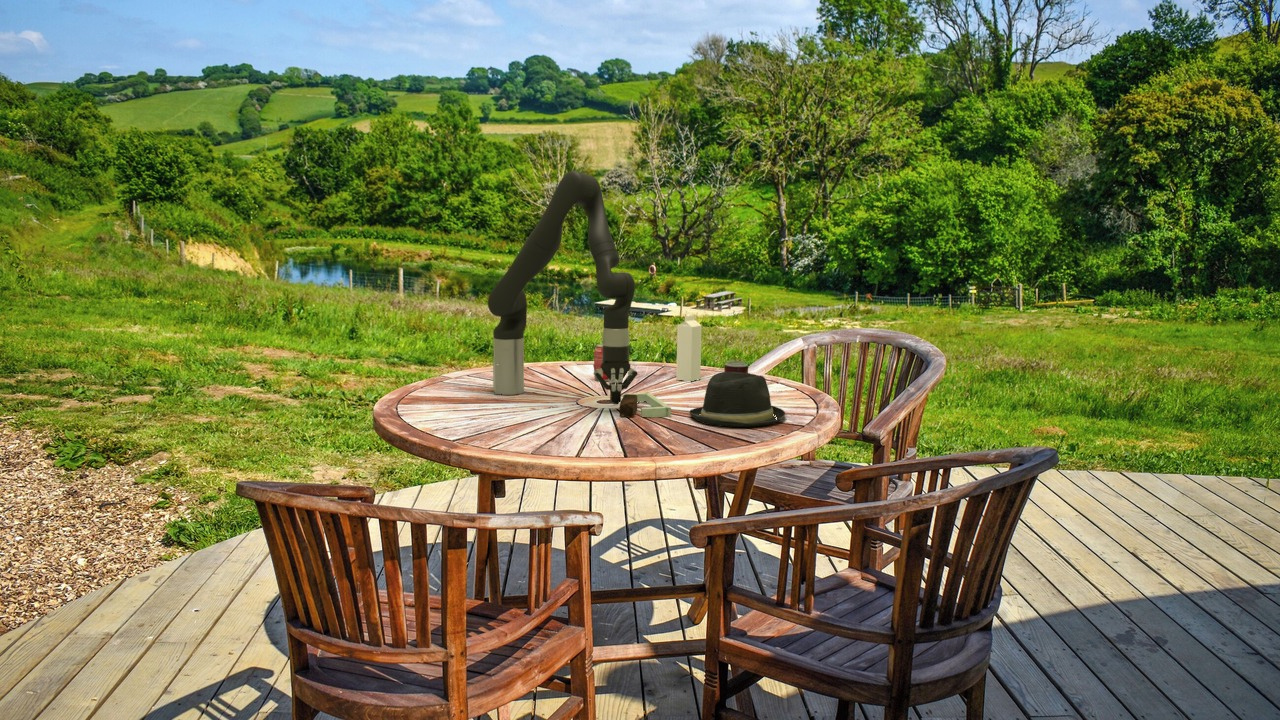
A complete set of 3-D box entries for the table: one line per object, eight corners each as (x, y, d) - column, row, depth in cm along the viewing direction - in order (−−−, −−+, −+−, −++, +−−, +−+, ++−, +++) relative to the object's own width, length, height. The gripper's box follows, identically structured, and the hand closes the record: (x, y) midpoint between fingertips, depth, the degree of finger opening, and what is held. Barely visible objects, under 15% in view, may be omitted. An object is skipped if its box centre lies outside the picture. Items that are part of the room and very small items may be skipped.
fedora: (803, 419, 238) (806, 375, 236) (737, 435, 220) (738, 387, 218) (737, 404, 256) (739, 363, 254) (671, 417, 238) (672, 373, 236)
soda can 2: (725, 404, 254) (726, 364, 252) (721, 400, 261) (723, 360, 259) (748, 405, 255) (750, 364, 253) (744, 400, 262) (746, 360, 260)
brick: (623, 409, 247) (624, 393, 246) (637, 410, 246) (637, 394, 246) (619, 418, 236) (619, 401, 236) (633, 418, 236) (633, 402, 235)
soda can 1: (616, 378, 294) (616, 343, 292) (613, 382, 287) (613, 346, 285) (595, 378, 294) (595, 343, 292) (592, 381, 287) (592, 346, 285)
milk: (676, 380, 292) (676, 316, 288) (686, 378, 297) (687, 314, 293) (691, 382, 288) (692, 317, 285) (700, 380, 293) (702, 315, 289)
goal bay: (642, 417, 236) (642, 409, 236) (622, 402, 256) (622, 393, 256) (670, 416, 238) (671, 407, 238) (649, 400, 258) (649, 392, 258)
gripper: (634, 341, 247) (634, 400, 250) (590, 342, 243) (589, 402, 246) (642, 344, 240) (641, 405, 243) (596, 346, 236) (595, 407, 239)
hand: (615, 403), depth 244 cm, fingers closed
